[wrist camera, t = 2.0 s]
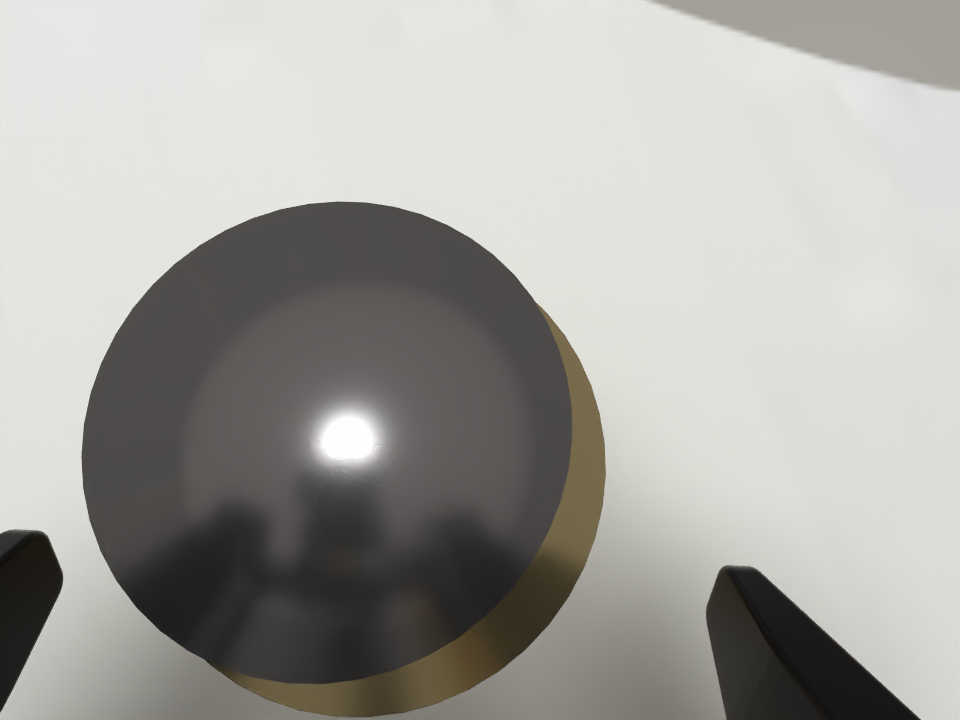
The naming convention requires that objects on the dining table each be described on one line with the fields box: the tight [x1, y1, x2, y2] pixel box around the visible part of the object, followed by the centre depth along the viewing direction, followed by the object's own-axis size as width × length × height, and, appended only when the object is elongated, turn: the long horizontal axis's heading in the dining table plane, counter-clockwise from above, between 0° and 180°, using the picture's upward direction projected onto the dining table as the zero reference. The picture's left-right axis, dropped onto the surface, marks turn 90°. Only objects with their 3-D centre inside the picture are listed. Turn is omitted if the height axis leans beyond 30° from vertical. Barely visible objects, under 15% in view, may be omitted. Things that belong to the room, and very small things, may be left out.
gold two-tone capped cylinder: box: [82, 202, 606, 717], centre depth 11 cm, size 5×5×13 cm
